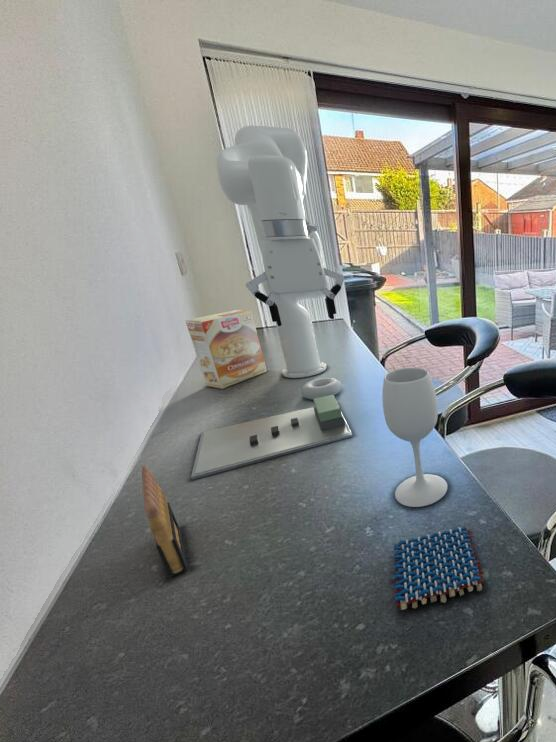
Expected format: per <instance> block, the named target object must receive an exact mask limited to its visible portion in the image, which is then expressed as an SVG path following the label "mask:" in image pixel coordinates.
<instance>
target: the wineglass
mask: <svg viewBox="0 0 556 742" xmlns="http://www.w3.org/2000/svg"><path fill="white" fill-rule="evenodd" d="M381 398H382V410H383V416H384V420H385V423H386V426H387V428H388V429H389V431H390V433H392V434H393V435H394V436H395V437H397V438H398V439H400V440H402V441H405V442H409V443H410V445H411V447H412V452H413V457H414V465H415V475H413V476H410V477H409V478H406V479H405V480H403V481H402V482H401V483H400V484H399V485H398V486H397V487H396V489H395V492H394V497H395V500H396V501H397V502H398V503H399V504H400V505H403V506H406V507H409V508H422V507H426V506H429V505H433V504H434V503H437V502H438V501H440V500H441V499H442V498H443V497H444V496H445V495H446V494H447V492H448V483H447V481H446V480H445V478H443V477H441V476H439V475H436V474H431V473H424V471H423V466H422V459H421V449H420V448H421V447H420V446H421V441H422V440H424V439H425V438H427V436H429V435H430V434H431V433H432V432H433V430H434V428H435V427H436V425H437V423H438V417H439V407H438V406H439V405H438V399H437V398H438V397H437V393H436V389H435V385H434V383H433V380H432V377H431V374H430V372H429V371H428V370H427V369H426V368H422V367H416V366H415V367H414V366H413V367H412V366H410V367H401V368H398V369H393V370H391V371H389V372H387V373H386V374H385V375H384V377H383V381H382V397H381Z"/></svg>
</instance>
